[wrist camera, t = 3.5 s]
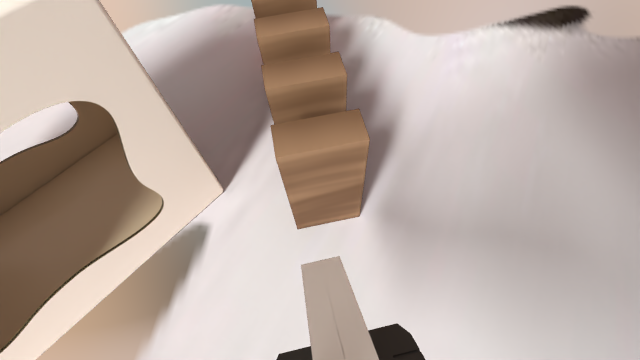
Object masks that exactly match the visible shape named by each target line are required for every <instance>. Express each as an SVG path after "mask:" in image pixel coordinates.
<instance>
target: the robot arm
mask: <svg viewBox="0 0 640 360" xmlns="http://www.w3.org/2000/svg"><path fill="white" fill-rule="evenodd" d="M301 269H302V277H303V285H304V293H305V302H306V310H307V318H308V326H309V334H310V342H311V346H310V347H306V348H302V349H297V350H293V351H289V352H285V353H281V354H279V355H278V358H277V360H425V358H424V356H423V355H422V353H421V352H420V350H419V348H418V346H417V344H416V342H415V340H414V339H413V337H412V335H411V334H410V333H409V332H408V331H406V330H405V329H404V328H402V327H401V326H400V325H399V324H393V325H389V326H385V327H381V328H377V329H373V330H369V331H368V329H367V327H366V324H365V322H364V319H363V316H362V314H361V311H360V309H359V306H358V303H357V301H356V298H355V296H354V293H353V290H352V288H351V285H350V283H349V280H348V277H347V275H346V272H345V270H344V267H343V264H342V262H341V259H340V257H339V256H338V257H333V258H329V259H325V260H320V261H316V262H312V263H307V264H303V265H301Z"/></svg>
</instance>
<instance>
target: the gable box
mask: <svg viewBox="0 0 640 360" xmlns="http://www.w3.org/2000/svg"><path fill="white" fill-rule="evenodd" d="M65 102H69V103H70V104H71V105H72V106H73V107H74V108H75V110H76V112H77V115H78V118H77V121H76V123H75V125H74V126H73V127H72V128H71V129H70V130H69V131H67V132H66V133H64V134H63V135H61V136H59V137H57V138H54V139H52V140H49V141H47V142H44V143H41V144H38V145H35V146H33V147H30V148H27V149H25V150H23V151H20V152H18V153H16V154H14V155H12V156H10V157H8V158H6V159H5V160H3V161H1V162H0V360H36V359H37V358H38V357H39V356H40V355H41V354H42V353H44V352H45V351H46V350H47V349H48V348H49V347H50V346H52V345H53V344H54V343H55V342H56V341H57V340H58V339H59V338H60V337H62V336H63V335H64V334H65V333H66V332H67V331H68V330H69V329H71V328H72V327H73V326H74V325H75V324H76V323H77V322H78V321H79V320H80V319H82V318H83V317H84V316H85V315H86V314H87V313H88V312H90V311H91V310H92V309H93V308H94V307H95V306H96V305H97V304H98V303H100V302H101V301H102V300H103V299H104V298H105V297H106V296H107V295H109V294H110V293H111V292H112V291H113V290H114V289H115V288H116V287H117V286H119V285H120V284H121V283H122V282H123V281H124V280H125V279H126V278H128V277H129V276H130V275H131V274H132V273H133V272H134V271H135V270H136V269H138V268H139V267H140V266H141V265H142V264H143V263H144V262H145V261H146V260H148V259H149V258H150V257H151V256H152V255H153V254H154V253H156V252H157V251H158V250H159V249H160V248H161V247H162V246H163V245H164V244H166V243H167V242H168V241H169V240H170V239H171V238H172V237H173V236H175V235H176V234H177V233H178V232H179V231H180V230H181V229H182V228H183V227H185V226H186V225H187V224H188V223H189V222H190V221H191V220H192V219H194V218H195V217H196V216H197V215H198V214H199V213H200V212H201V211H202V210H204V209H205V208H206V207H207V206H208V205H209V204H210V203H211V202H213V201H214V200H215V199H216V198H217V197H218V196H219V195H220V194H221V193H223V187H222V186H221V184H220V183H219V181H218V180H217V178H216V177H215V175H214V173H213V172H212V170H211V169H210V167H209V166H208V164H207V163H206V161H205V160H204V158H203V157H202V155H201V154H200V152H199V151H198V149H197V148H196V146H195V145H194V143H193V142H192V140H191V139H190V137H189V136H188V134H187V133H186V131H185V130H184V128H183V127H182V125H181V123H180V122H179V120H178V119H177V117H176V116H175V114H174V113H173V111H172V110H171V108H170V107H169V105H168V104H167V102H166V101H165V99H164V98H163V96H162V95H161V93H160V92H159V90H158V89H157V87H156V86H155V84H154V83H153V81H152V80H151V78H150V77H149V75H148V74H147V72H146V70H145V69H144V67H143V66H142V64H141V63H140V61H139V60H138V58H137V57H136V55H135V54H134V52H133V51H132V49H131V48H130V46H129V45H128V43H127V42H126V40H125V39H124V37H123V36H122V34H121V33H120V31H119V30H118V28H117V27H116V25H115V24H114V22H113V21H112V19H111V17H110V16H109V15H108V13H107V11H106V10H105V8H104V7H103V5H102V4H101V2H100V1H99V0H0V133H1V132H3V131H4V130H6V129H7V128H9V127H10V126H12V125H13V124H15V123H17V122H19V121H20V120H22V119H24V118H26V117H28V116H30V115H32V114H34V113H36V112H38V111H40V110H43V109H45V108H48V107H50V106H53V105H57V104H60V103H65Z"/></svg>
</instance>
